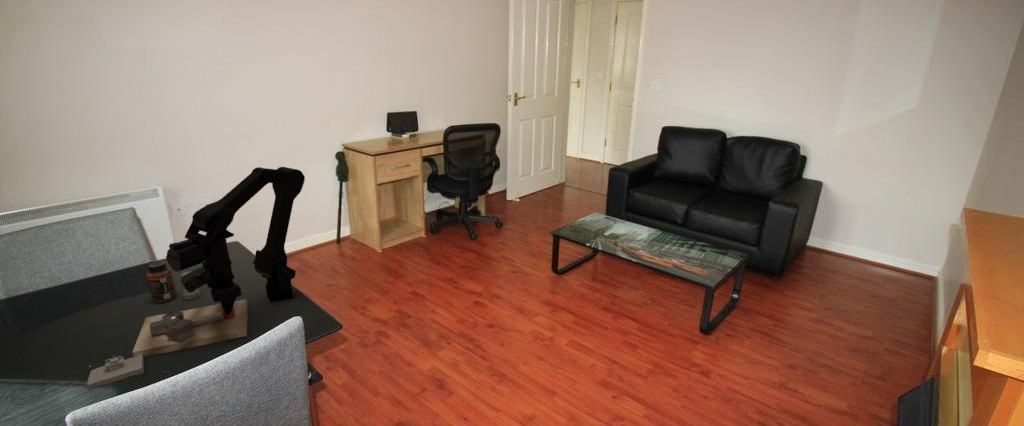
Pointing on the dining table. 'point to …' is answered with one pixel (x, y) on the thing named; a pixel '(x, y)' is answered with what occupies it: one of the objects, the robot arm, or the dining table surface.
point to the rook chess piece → (193, 294)
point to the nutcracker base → (199, 330)
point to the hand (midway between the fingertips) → (226, 310)
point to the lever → (177, 316)
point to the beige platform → (116, 370)
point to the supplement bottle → (160, 282)
